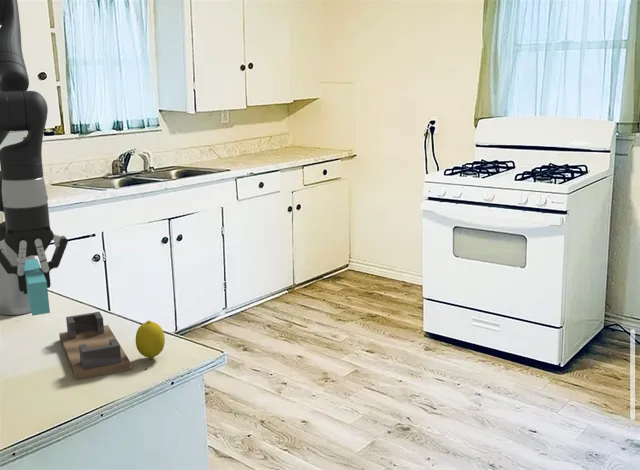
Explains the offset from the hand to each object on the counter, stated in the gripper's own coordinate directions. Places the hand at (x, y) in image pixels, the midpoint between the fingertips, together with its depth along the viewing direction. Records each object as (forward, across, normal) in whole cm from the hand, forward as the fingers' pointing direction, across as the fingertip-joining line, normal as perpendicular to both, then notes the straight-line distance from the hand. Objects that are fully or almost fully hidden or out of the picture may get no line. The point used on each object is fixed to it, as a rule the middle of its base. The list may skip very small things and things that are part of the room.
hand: (35, 291), depth 130 cm
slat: (+2, 0, 0) cm, 2 cm away
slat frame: (+15, -10, 0) cm, 17 cm away
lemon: (+15, -19, +8) cm, 26 cm away
